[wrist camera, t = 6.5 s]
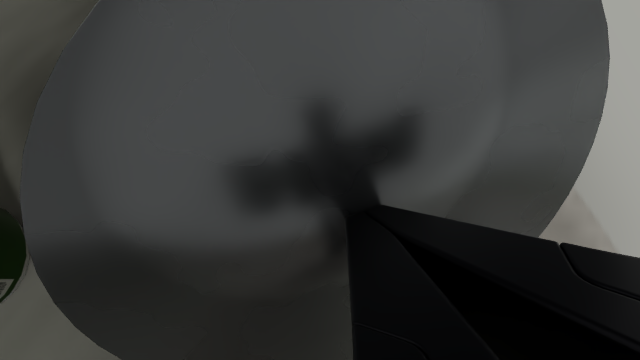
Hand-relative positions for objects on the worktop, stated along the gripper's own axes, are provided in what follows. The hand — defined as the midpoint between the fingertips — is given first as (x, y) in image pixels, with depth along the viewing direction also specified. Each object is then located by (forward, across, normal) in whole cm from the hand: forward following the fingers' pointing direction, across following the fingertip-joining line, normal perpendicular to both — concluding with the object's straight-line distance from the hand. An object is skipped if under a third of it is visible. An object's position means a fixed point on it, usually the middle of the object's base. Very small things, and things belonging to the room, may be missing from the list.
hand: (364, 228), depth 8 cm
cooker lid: (+1, 0, +2) cm, 2 cm away
